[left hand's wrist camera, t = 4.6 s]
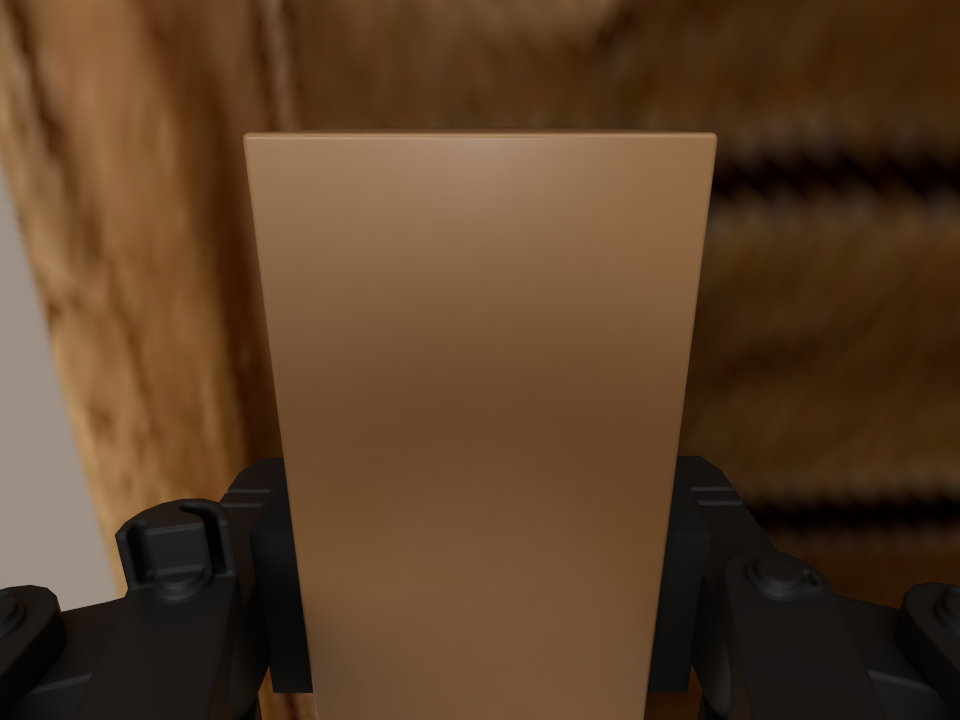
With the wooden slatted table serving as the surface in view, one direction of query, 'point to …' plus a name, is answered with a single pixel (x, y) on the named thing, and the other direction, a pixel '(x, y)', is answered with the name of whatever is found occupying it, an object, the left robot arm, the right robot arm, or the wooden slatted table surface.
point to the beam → (480, 406)
